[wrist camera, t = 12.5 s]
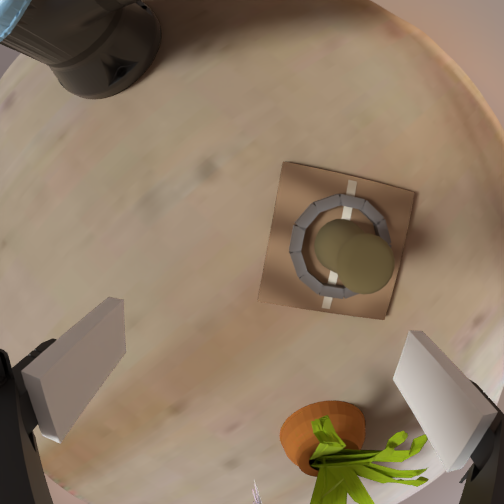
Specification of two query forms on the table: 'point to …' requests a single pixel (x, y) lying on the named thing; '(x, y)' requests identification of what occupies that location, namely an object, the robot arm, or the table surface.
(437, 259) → the table surface
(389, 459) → the decorative plant
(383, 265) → the olive round stacked cylinder
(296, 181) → the socket board
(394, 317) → the table surface
